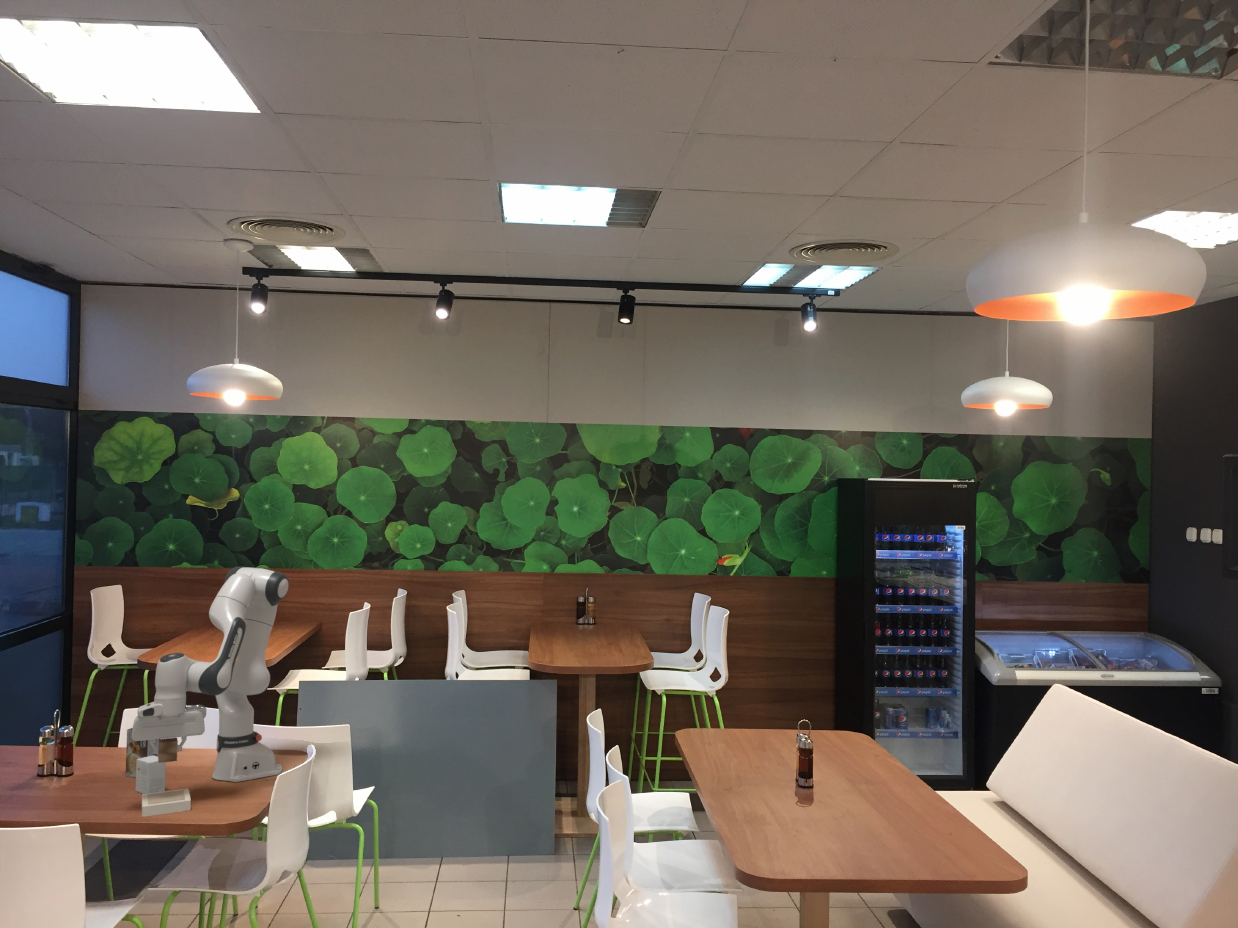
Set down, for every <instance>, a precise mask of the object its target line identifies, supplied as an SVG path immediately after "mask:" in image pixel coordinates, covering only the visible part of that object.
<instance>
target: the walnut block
mask: <svg viewBox="0 0 1238 928" xmlns="http://www.w3.org/2000/svg"><path fill="white" fill-rule="evenodd" d="M178 745H179V743H178V737H175V738H164V739H159V754H158V763H163V762H166V763H171V762H178V752H177V747H178Z"/></svg>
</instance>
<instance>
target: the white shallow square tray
mask: <svg viewBox="0 0 1238 928" xmlns="http://www.w3.org/2000/svg"><path fill="white" fill-rule="evenodd" d="M191 801H192V800H191V794H190V790H189V788H181V789H173V790H168V791H167V790H165V791H164V792H156V793H148V794H142V793H141V817H142V818H144V817H145V818H147V817H151V816H160V815H166V814H172V813H173V814H175V813H180V812H181V813H182V812H188V811H191V804H192V802H191Z"/></svg>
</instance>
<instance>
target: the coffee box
mask: <svg viewBox="0 0 1238 928" xmlns="http://www.w3.org/2000/svg"><path fill="white" fill-rule="evenodd" d="M132 729H133V727H131V728H128V729H127V730H126V751H125V753H126V755H125V777H126V778H127V777H128V778H129V777H130V778H136V762H137V759H139V758H144V757H148V756H157V757H158V754H153V750H154V749H153V747H152V746H151V744H150V740H144V741H133V740H132ZM154 745H155V746H156V747H159V739H155V743H154Z"/></svg>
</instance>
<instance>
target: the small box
mask: <svg viewBox="0 0 1238 928" xmlns="http://www.w3.org/2000/svg"><path fill="white" fill-rule="evenodd" d="M166 763H167V762H163V763H158V757H157V756H148V757H144V758H139V759H137V762H136V777H135V792H136V793H139V794H141V795H142V794H148V793H156V792H164V791H166Z"/></svg>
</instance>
